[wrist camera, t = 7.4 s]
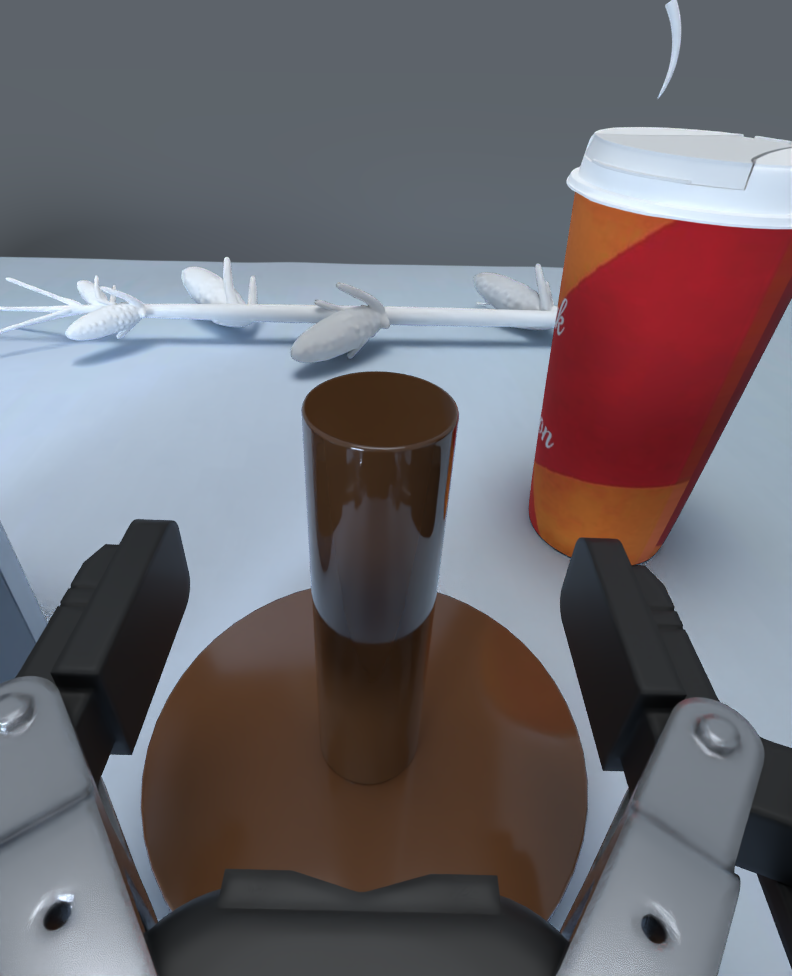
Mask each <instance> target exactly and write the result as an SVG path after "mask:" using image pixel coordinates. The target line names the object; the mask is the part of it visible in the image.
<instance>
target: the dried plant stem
mask: <svg viewBox="0 0 792 976" xmlns="http://www.w3.org/2000/svg"><path fill="white" fill-rule="evenodd" d="M665 7H666V10H667V13H668V16H669V19H670V24H671V30H672V54H671V61H670V66H669V70H668V73H667V77H666V80H665V82H664V85H663V87H662V89H661V91H660V94H659V96H658V98H659V97H660V96H661V95H662V93H663V92H664V90H665V88H666V87H667V85H668V82H669V81H670V79H671V76H672V74H673V72H674V69H675V66H676V63H677V59H678V55H679V50H680V43H681V18H680V12H679V7H678V4H677V0H671V1H670V2H669V3H667V4H666V5H665ZM658 98H657V99H658ZM535 272H536V280H537V286H538V291H539V294H538V293H537V292H536V291H535V290H532V289H531V288H530V287H529V286H527V285H525V284H523V283H520V282H518V281H516V280H514V279H511V278H509V277H506V276H503V275H500V274H496V273H489V272H484V273H479V274H477V275H475V276H474V279H473V282H474V286H475V288H476V290H477V291H478V293H479V294H480V295H481V296H482V297H483V298H484V300H485V301H486V302H488V303H480V302H477V305H492V306H493V307H494V308H496V309H473V308H436V307H394V306H383V305H382V304H381V303H380V302H379V301H378V300H377V299H376V298H374V297H373V296H372V295H370V294H368V293H366V292H364V291H362V290H360V289H357V288H355V287H353V286H350V285H347V284H344V283H340V282H339V283H337V284H336V286H337V288H338V289H340V290H341V291H343V292H345V293H347V294H349V295H351V296H353V297H354V298H357V299H359V300H361V301H363V302H365V303H367V304H368V306H366V305H361V306H343V305H334V304H331V303H328V302H326V301H321V300H315V302H314V303H315V305H278V304H257V303H258V302H257V285H256V279H255V276H251V279H250V283H249V295H248V304H245V302H244V301H243V300H242V297H241V296H240V295H239V293H238V292H237V291H236V289H234V284H233V276H232V268H231V262H230V259H229V258H228V257H225V259H224V264H223V279H222V278H221V277H219V276H218V275H216V274H214V273H213V272H211V271H208V270H206V269H203V268H200V267H188V268H186V269H184V270H183V271H182V276H181V278H182V281H183V284H184V286H185V288H186V290H187V292H188V293H189V295H190V296H191V298H192V299H193V301H195V302H196V303H197V304H143V303H142V302H141V301H140V300H138V299H136V298H135V297H133V296H130V295H128V294H126V293H123V292H121V291H118V290H116V286H115V285H113V287H112V288H108V287H104V286H101V287H100V288H99V278H98V276H95V280H94V284H93V283H92V282H90V281H87V280H81V281H78V283H77V289H78V292H79V293H80V295H81V297H82V298H83V299H84V300H85V302H86V303H87V304H89V305H81V304H80V303H79V302H78V301H75V300H72V299H68V298H64V297H61V296H58V295H55V294H53V293H50V292H47V291H45V290H42V289H39V288H37V287H34V286H31V285H28V284H26V283H23V282H20V281H18V280H15V279H13V278H10V277H7V278H6V280H7V281H9V282H12V283H15V284H17V285H20V286H22V287H25V288H28V289H31V290H33V291H36V292H38V293H41V294H44V295H46V296H49V297H51V298H54V299H56V300H58V301H61V302H63V303H66V304H67V305H62V306H51V307H48V306H42V307H0V311H35V312H48V313H50V312H54V313H51V314H48V315H45V316H42V317H39V318H35V319H31V320H27V321H25V322H21V323H18V324H15V325H11V326H8V327H5V328H2V329H0V334H2V333H5V332H8V331H11V330H14V329H17V328H21V327H25V326H28V325H33V324H37V323H42V322H46V321H49V320H53V319H58V318H62V317H67V316H72V315H79V314H86V315H84V316H82V317H80V318H79V319H77V320H76V321H74V322H73V323H72V324H71V325H70V326H69V327H68V328H67V330H66V336H67V337H68V338H69V339H72V340H92V339H97V338H101V337H105V336H108V335H111V334H114V333H117V332H118V334H117V338H118V339H120V338H122V337H123V336H124V335H126V334H127V333H128V332H129V331H130V330H131V329H132V328H133V327H134V326H135V325H136V324H137V323H138V322H139V321H140V320H141V319H142V318H166V319H191V320H212V321H213V322H214V323H215V324H219V325H223V326H228V327H246V326H248V325H250V324H252V323H253V322H280V323H316V324H314V325H313V326H311V327H310V328H309V329H307V330H306V331H305V332H304V333H303V334H302V335H300V336H299V338H298V339H297V340H296V341H295V342H294V344H293V346H292V348H291V357H292V358H293V359H294V360H296V361H298V362H303V363H313V362H320V361H327V360H329V359H331V358H334V357H337V356H340V355H342V354H344V353H347V352H348V354H347V358H348V359H351V358H353V357H354V356H355V355H356V354H357V353H358V351H359V350H360V349H361V348H362V347H363V346H364V344H365V343H366V342H367V341H368V340H369V339H370V338H371V337H374V336H375V334H376V333H377V332H378V331H379V330H380V329H381V328H382V329H388V328H389V327H390V325H407V326H470V327H515V328H521V329H528V330H548V329H552V328H553V327H555V320H556V314H557V307H558V306H554V303H553V298H552V294H551V290H550V286H549V282H548V281H545V279H544V275H543V271H542V268H541V265H540V264H536V267H535ZM103 291H104V292H107V293H109V294H111V296H110V301H108V299H107V297H106V295H105V294H104V292H103ZM116 297H119V298H122V299H124V300H126V301H128V302H121V303H118V304H117V303H115V302H116Z"/></svg>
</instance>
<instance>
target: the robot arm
mask: <svg viewBox="0 0 792 976" xmlns="http://www.w3.org/2000/svg"><path fill="white" fill-rule="evenodd" d="M189 592H190V576H189V571H188V567H187V562H186V558H185V553H184V549H183V545H182V540H181V536H180V531H179V528H178V525H177V523H176V522H175V521H170V520H144V519H136V520H134V521H133V522H132V523H131V524H130V526H129V528H128V529H127V531H126V533H125V535H124V537H123V539H122V541H121V542H120V544H119V545H111V544H105V545H104V546H103V547H102V548H100V549H99V550H98V551H97V552H96V553H94V554H93V555H92V556H91V557H90V558H89V559H87V560H86V561H85V562H84V563H83V565H82V566H81V568H80V570H79V571H78V573H77V575H76V576H75V578H74V580H73V581H72V583H71V588H70V589H68V590H67V592H66V593H65V595H64V597H63V598H62V600H61V605H60V607H59V606H58V607H57V609H56V610H55V612H54V614H53V615H52V617H51V619H50V620H49V622H48V624H47V625H46V627H45V629H44V631H43V632H42V634H41V636H40V637H39V639H38V641H37V642H36V644H35V646H34V648H33V649H32V651H31V653H30V654H29V656H28V658H27V659H26V661H25V663H24V664H23V666H22V668H21V670H20V671H19V673H18V674H17V676H16V677H15V678H14V679H11V680H8V681H5V682H3V683H0V976H717V975H718V971H719V967H720V964H721V960H722V956H723V952H724V949H725V945H726V941H727V938H728V934H729V930H730V926H731V923H732V919H733V915H734V912H735V908H736V904H737V900H738V896H739V891H740V877H739V876H738V875H737V874H735V873H734V867H735V866H738V867H741V868H743V869H746V870H749V871H751V872H754V873H757V876H758V879H759V881H760V884H761V887H762V889H763V892H764V895H765V898H766V900H767V903H768V906H769V908H770V911H771V914H772V917H773V919H774V922H775V925H776V927H777V930H778V933H779V936H780V938H781V941H782V944H783V947H784V949H785V952H786V955H787V957H788V960H789V963H790V966H791V968H792V748H789V747H786V746H783V745H780V744H777V743H774V742H771V741H768V740H766V739H763V738H761V737H759V735H758V734H757V732H756V731H755V729H754V728H753V726H752V725H751V724H750V723H749V722H748V721H747V720H746V719H745V718H744V717H743V716H742V715H741V714H739V713H738V712H737V711H735V710H734V709H732V708H731V707H729V706H727V705H725V704H723V703H721V702H720V701H719V700H718V698H717V696H716V694H715V692H714V690H713V688H712V685H711V683H710V681H709V679H708V677H707V675H706V673H705V671H704V668H703V666H702V664H701V662H700V660H699V658H698V656H697V654H696V652H695V649H694V647H693V645H692V643H691V641H690V639H689V637H688V635H687V633H686V630H683V624H682V622H681V620H680V618H679V616H678V614H677V611H674V605H673V603H672V601H671V599H670V597H669V595H668V592H667V590H666V588H665V586H664V585H663V584H662V583H661V582H660V581H659V580H658V579H657V578H656V577H655V576H654V574H653V573H652V572H651V571H650V570H649V569H648V568H647V567H646V566H643V565H631V563H630V561H629V559H628V556H627V554H626V552H625V549H624V547H623V545H622V543H621V541H620V540H618V539H611V538H585V537H581V538H579V539H578V540H577V542H576V544H575V547H574V550H573V554H572V557H571V560H570V563H569V567H568V570H567V573H566V577H565V580H564V583H563V586H562V590H561V596H560V612H561V619H562V623H563V626H564V630H565V634H566V637H567V641H568V645H569V648H570V652H571V656H572V659H573V663H574V667H575V670H576V674H577V678H578V681H579V685H580V689H581V692H582V696H583V700H584V703H585V707H586V711H587V714H588V718H589V722H590V725H591V729H592V733H593V736H594V740H595V744H596V747H597V751H598V755H599V758H600V762H601V766H602V769H603V771H624V774H625V777H626V780H627V784H628V787H629V788H628V790H627V792H626V793H625V795H624V798H623V800H622V802H621V804H620V806H619V808H618V811H617V813H616V815H615V817H614V819H613V821H612V824H611V826H610V828H609V830H608V832H607V834H606V837H605V839H604V841H603V843H602V845H601V847H600V849H599V852H598V854H597V856H596V858H595V860H594V862H593V865H592V867H591V869H590V871H589V873H588V875H587V878H586V880H585V882H584V884H583V886H582V888H581V890H580V892H579V894H578V896H577V898H576V899H575V901H574V903H573V905H572V907H571V909H570V911H569V913H568V916H567V918H566V920H565V922H564V924H563V926H562V928H561V930H560V932H559V931H558V930H557V929H556V928H554V927H553V926H552V925H551V924H550V923H548V922H547V921H546V920H545V919H543V918H542V917H541V916H539V915H538V914H536V913H535V912H533V911H532V910H530V909H529V908H527V907H526V906H523V905H521V904H519V903H517V902H515V901H513V900H511V899H509V898H506V897H503V896H500V893H499V884H498V876H497V875H463V874H428V875H425V876H421V877H417V878H414V879H410V880H407V881H403V882H399V883H396V884H392V885H389V886H385V887H381V888H378V889H374V890H371V891H366V892H357V891H353V890H350V889H347V888H344V887H341V886H338V885H335V884H332V883H329V882H326V881H323V880H320V879H317V878H314V877H311V876H308V875H305V874H302V873H299V872H296V871H293V870H258V869H225V871H224V876H223V881H222V886H221V889H219V890H215V891H212V892H209V893H206V894H204V895H202V896H199V897H197V898H194V899H192V900H191V901H189V902H187V903H185V904H184V905H182V906H180V907H178V908H176V909H175V910H174V911H172V912H171V913H170V914H168V915H167V916H165V917H164V918H163V919H161V920H160V921H159V922H158V920H157V918H156V915H155V912H154V910H153V907H152V905H151V902H150V900H149V898H148V895H147V893H146V891H145V888H144V886H143V884H142V881H141V879H140V877H139V874H138V872H137V869H136V867H135V864H134V862H133V859H132V856H131V854H130V851H129V848H128V845H127V843H126V840H125V837H124V835H123V832H122V829H121V827H120V824H119V821H118V819H117V816H116V813H115V811H114V808H113V805H112V803H111V800H110V797H109V795H108V792H107V789H106V787H105V784H104V781H103V779H102V777H101V775H102V773H103V770H104V768H105V765H106V763H107V760H108V758H109V755H110V754H116V755H132V753H133V750H134V747H135V745H136V742H137V739H138V736H139V734H140V731H141V728H142V726H143V723H144V720H145V717H146V715H147V712H148V709H149V707H150V704H151V701H152V698H153V696H154V693H155V690H156V688H157V685H158V682H159V679H160V677H161V674H162V671H163V669H164V666H165V663H166V660H167V658H168V655H169V652H170V650H171V647H172V644H173V641H174V639H175V636H176V633H177V631H178V628H179V625H180V622H181V620H182V617H183V614H184V612H185V609H186V606H187V603H188V598H189Z"/></svg>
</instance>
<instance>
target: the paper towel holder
mask: <svg viewBox="0 0 792 976" xmlns="http://www.w3.org/2000/svg"><path fill="white" fill-rule="evenodd" d="M301 411H302V430H303V448H304V466H305V484H306V502H307V520H308V538H309V556H310V574H311V588H310V589H307V590H303V591H299V592H296V593H293V594H291V595H288V596H285V597H283V598H280V599H278V600H275V601H273V602H271V603H269V604H267V605H265V606H263V607H261V608H259V609H257V610H255V611H253V612H252V613H250V614H249V615H247V616H245V617H244V618H242V619H241V620H239V621H237V622H236V623H234V624H233V625H232V626H231V627H229V628H228V629H227V630H226V631H224V632H223V633H222V634H220V635H219V636H218V637H217V638H215V639H214V640H213V641H212V642H211V643H210V644H209V645H208V646H207V647H206V648H205V649H204V650H203V651H202V652H201V653H200V654H199V655H198V656H197V658H196V659H195V660H194V661H193V663H192V664H191V665H190V666H189V667H188V669H187V670H186V671H185V672H184V674H183V675H182V676H181V678H180V679H179V681H178V683H177V684H176V686H175V687H174V689H173V690H172V692H171V694H170V695H169V697H168V699H167V701H166V703H165V705H164V707H163V709H162V711H161V713H160V716H159V718H158V720H157V722H156V725H155V728H154V731H153V734H152V737H151V740H150V743H149V746H148V749H147V754H146V760H145V765H144V770H143V776H142V791H141V816H142V826H143V837H144V842H145V846H146V850H147V854H148V858H149V862H150V866H151V870H152V872H153V874H154V877H155V879H156V881H157V884H158V886H159V888H160V891H161V893H162V895H163V898H164V900H165V902H166V904H167V906H168V908H169V910H170V912H172V911H174V910H175V909H176V908H178V907H180V906H182V905H184V904H185V903H187V902H189V901H191V900H192V899H194V898H197V897H199V896H202V895H204V894H206V893H209V892H212V891H215V890H219V889H221V886H222V881H223V876H224V871H225V869H258V870H293V871H296V872H299V873H302V874H305V875H308V876H311V877H314V878H317V879H320V880H323V881H326V882H329V883H332V884H335V885H338V886H341V887H344V888H347V889H350V890H353V891H357V892H366V891H371V890H374V889H378V888H381V887H385V886H389V885H392V884H396V883H399V882H403V881H407V880H410V879H414V878H417V877H421V876H425V875H428V874H463V875H497V876H498V884H499V893H500V896H503V897H506V898H509V899H511V900H513V901H515V902H517V903H519V904H521V905H523V906H526V907H527V908H529V909H530V910H532V911H533V912H535V913H536V914H538V915H539V916H541V917H542V918H543V919H545V920H546V921H547V922H548V921H549V920H550V918H551V917H552V915H553V914H554V912H555V911H556V909H557V907H558V906H559V904H560V902H561V900H562V898H563V896H564V893H565V891H566V889H567V887H568V885H569V883H570V880H571V878H572V876H573V874H574V872H575V869H576V865H577V862H578V858H579V855H580V851H581V848H582V844H583V841H584V834H585V827H586V820H587V812H588V780H587V773H586V766H585V758H584V753H583V749H582V745H581V742H580V738H579V734H578V731H577V727H576V725H575V722H574V720H573V717H572V715H571V713H570V710H569V708H568V705H567V703H566V701H565V699H564V698H563V696H562V694H561V692H560V690H559V689H558V687H557V685H556V683H555V682H554V680H553V679H552V677H551V676H550V675H549V673H548V672H547V671H546V669H545V668H544V666H543V665H542V664H541V662H540V661H539V660H538V659H537V658H536V657H535V656H534V654H533V653H532V652H531V651H530V650H529V649H528V648H527V647H526V646H525V645H524V644H523V643H522V642H521V641H520V640H519V639H518V638H517V637H515V636H514V635H513V634H512V633H511V632H510V631H509V630H507V629H506V628H505V627H503V626H502V625H501V624H499V623H498V622H496V621H495V620H493V619H492V618H491V617H489V616H488V615H486V614H484V613H482V612H481V611H479V610H477V609H475V608H474V607H472V606H470V605H468V604H466V603H464V602H461V601H459V600H457V599H454V598H452V597H450V596H447V595H444V594H441V593H438V592H437V588H438V580H439V572H440V564H441V556H442V548H443V540H444V532H445V525H446V517H447V509H448V501H449V493H450V485H451V477H452V469H453V461H454V453H455V445H456V437H457V430H458V422H459V411H458V407H457V405H456V403H455V401H454V400H453V398H452V397H451V396H450V395H449V394H448V393H447V392H446V391H444V390H443V389H442V388H440V387H438V386H437V385H435V384H433V383H431V382H429V381H426V380H424V379H421V378H418V377H414V376H410V375H406V374H400V373H393V372H377V371H376V372H358V373H352V374H346V375H342V376H338V377H335V378H332V379H330V380H327V381H325V382H323V383H321V384H319V385H318V386H316V387H315V388H314V389H313V390H311V391H310V392H309V394H308V395H307V396H306V398H305V400H304V402H303V404H302V409H301Z"/></svg>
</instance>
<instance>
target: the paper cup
mask: <svg viewBox="0 0 792 976" xmlns="http://www.w3.org/2000/svg"><path fill="white" fill-rule="evenodd" d="M566 183H567V185H568V187H570V188H571V189H572V190H573V191H575V197H574V204H573V209H572V216H571V223H570V229H569V236H568V243H567V249H566V255H565V262H564V268H563V275H562V281H561V288H560V294H559V301H558V307H557V314H556V320H555V327H554V333H553V340H552V346H551V353H550V359H549V366H548V372H547V379H546V386H545V392H544V399H543V406H542V412H541V419H540V426H539V433H538V439H537V446H536V453H535V460H534V467H533V475H532V482H531V490H530V500H529V517H530V520H531V523H532V525H533V527H534V529H535V530H536V532H537V533H538V534H539V535H540V537H541V538H542V539H543V540H545V541H546V542H547V543H548V544H549V545H551V546H552V547H553V548H555V549H556V550H558V551H560V552H561V553H563V554H565V555H567V556H569V557H572V554H573V550H574V547H575V544H576V542H577V540H578V539H579V538H581V537H585V538H611V539H618V540H620V541H621V543H622V545H623V547H624V549H625V552H626V554H627V556H628V559H629V561H630V563H631V565H636V564H639V563H642V562H644V561H646V560H648V559H650V558H651V557H652V556H654V555H655V554H656V553H657V551H658V550H659V549H660V547H661V546H662V544H663V543H664V541H665V539H666V538H667V536H668V534H669V532H670V531H671V529H672V527H673V525H674V523H675V522H676V520H677V518H678V516H679V514H680V512H681V511H682V509H683V507H684V505H685V503H686V501H687V499H688V497H689V495H690V494H691V492H692V490H693V488H694V486H695V484H696V482H697V480H698V478H699V476H700V475H701V473H702V471H703V469H704V467H705V465H706V463H707V461H708V459H709V457H710V455H711V453H712V452H713V450H714V448H715V446H716V444H717V442H718V440H719V438H720V436H721V434H722V432H723V430H724V428H725V427H726V425H727V423H728V421H729V419H730V417H731V415H732V413H733V411H734V409H735V407H736V405H737V403H738V401H739V400H740V398H741V396H742V394H743V392H744V390H745V388H746V386H747V384H748V382H749V380H750V378H751V376H752V374H753V372H754V370H755V369H756V367H757V365H758V363H759V361H760V359H761V357H762V355H763V353H764V351H765V349H766V347H767V345H768V343H769V341H770V339H771V337H772V336H773V334H774V332H775V330H776V328H777V326H778V324H779V322H780V320H781V318H782V316H783V314H784V312H785V310H786V308H787V306H788V305H789V303H790V301H791V299H792V141H786V140H780V139H773V138H767V137H761V136H756V137H755V138H748V137H743V134H735V133H726V132H716V131H705V130H692V129H678V128H655V127H621V128H609V129H602V130H598V131H596V132H595V133H594V135H592V136H591V138H590V140H589V143H588V146H587V149H586V152H585V155H584V158H583V161H582V164H581V167H578V168H576V169H574V170H573V171H572V172H571V174H570V176H568V178H567V181H566Z"/></svg>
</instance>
